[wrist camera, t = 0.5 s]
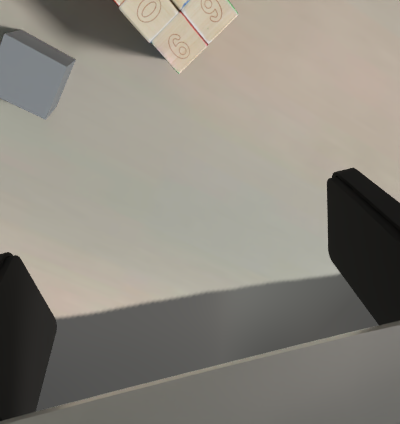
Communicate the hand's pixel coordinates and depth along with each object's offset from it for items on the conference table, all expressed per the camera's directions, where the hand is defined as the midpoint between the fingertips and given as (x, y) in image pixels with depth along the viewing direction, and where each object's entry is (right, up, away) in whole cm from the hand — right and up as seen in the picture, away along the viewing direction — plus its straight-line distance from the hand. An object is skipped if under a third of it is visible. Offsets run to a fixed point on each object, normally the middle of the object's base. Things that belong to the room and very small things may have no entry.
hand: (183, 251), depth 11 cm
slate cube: (-15, +15, +24) cm, 31 cm away
